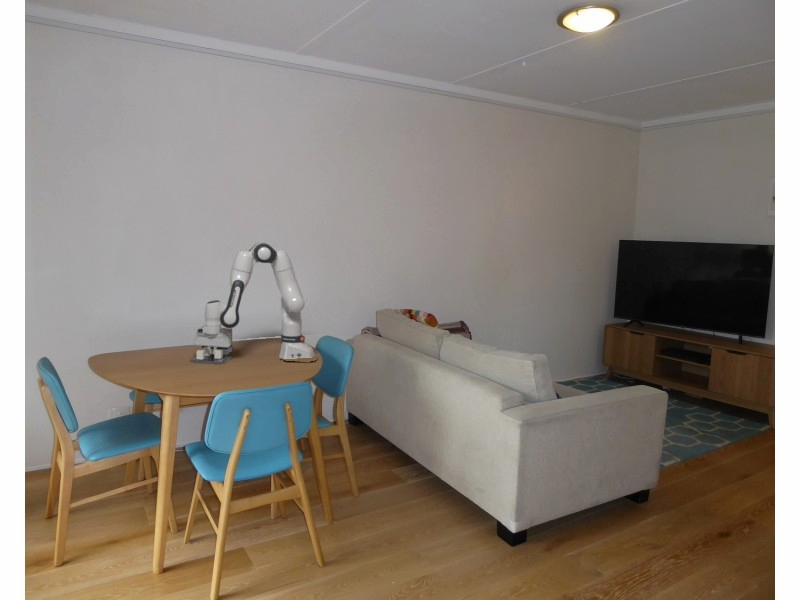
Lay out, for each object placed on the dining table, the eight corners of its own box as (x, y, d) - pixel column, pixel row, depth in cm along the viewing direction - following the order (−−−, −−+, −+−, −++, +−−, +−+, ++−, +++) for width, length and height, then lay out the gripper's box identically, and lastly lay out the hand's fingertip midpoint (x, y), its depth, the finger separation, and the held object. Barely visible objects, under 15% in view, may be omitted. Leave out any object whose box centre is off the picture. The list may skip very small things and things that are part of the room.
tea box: (232, 352, 330) (232, 327, 328) (225, 355, 320) (225, 330, 318) (208, 350, 331) (208, 325, 330) (200, 353, 321) (201, 328, 320)
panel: (231, 358, 313) (231, 356, 313) (222, 364, 299) (222, 361, 299) (200, 356, 314) (200, 354, 314) (189, 362, 300) (189, 359, 300)
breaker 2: (211, 354, 312) (211, 347, 312) (209, 355, 309) (209, 348, 309) (205, 354, 313) (205, 346, 312) (203, 355, 310) (203, 347, 309)
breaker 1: (205, 358, 304) (205, 350, 303) (202, 359, 301) (202, 351, 300) (198, 357, 304) (198, 349, 303) (196, 359, 301) (196, 351, 300)
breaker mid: (222, 357, 308) (222, 349, 307) (220, 358, 305) (220, 350, 304) (216, 357, 308) (216, 349, 307) (214, 358, 305) (214, 350, 304)
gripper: (233, 330, 307) (232, 354, 309) (197, 327, 308) (197, 351, 310) (229, 332, 301) (228, 356, 303) (192, 329, 302) (192, 354, 304)
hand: (212, 354), depth 306 cm, fingers closed
